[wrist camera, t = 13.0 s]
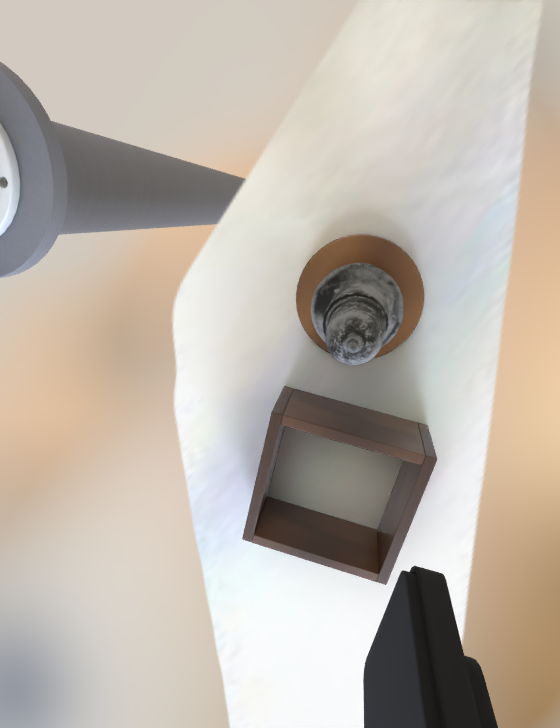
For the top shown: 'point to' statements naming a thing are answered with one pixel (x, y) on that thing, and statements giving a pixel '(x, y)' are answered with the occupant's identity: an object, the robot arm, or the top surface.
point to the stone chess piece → (357, 311)
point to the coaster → (368, 252)
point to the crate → (330, 534)
